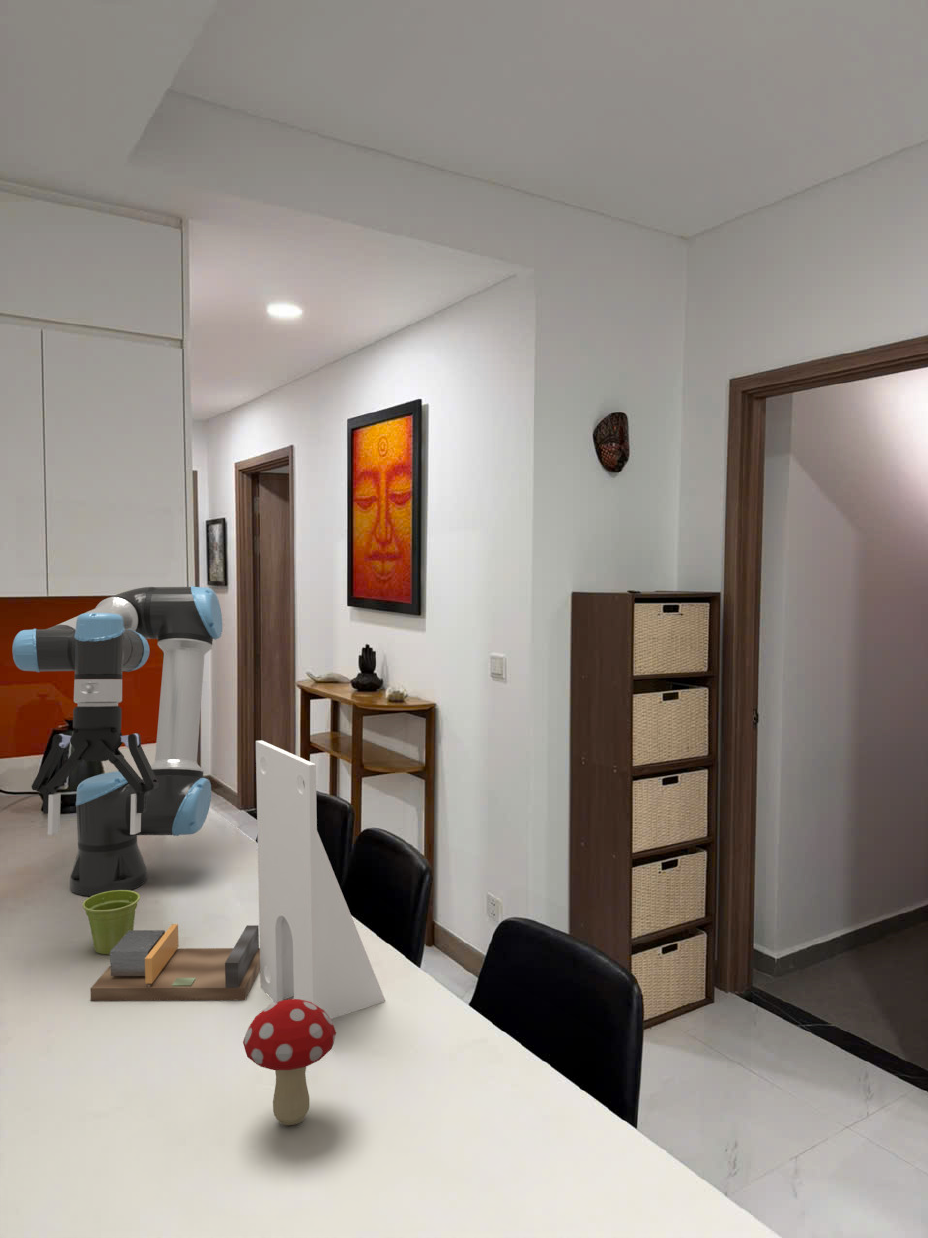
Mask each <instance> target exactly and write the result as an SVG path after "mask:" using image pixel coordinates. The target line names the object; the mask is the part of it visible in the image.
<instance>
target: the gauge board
mask: <svg viewBox="0 0 928 1238" xmlns="http://www.w3.org/2000/svg"><path fill="white" fill-rule="evenodd" d="M258 974H260V933H259V925H258V924H257V925H255V924H253V925H249V924H248V925H246V926H245V928H244V930H243V931H242V933H241V935H240V937H239V938H238V940H237V941H236V943H235V944H234V947H233V948H231V947H229V948H228V947H225V948H224V947H222V948H221V947H220V948H219V947H215V948H214V947H211V948H209V947H208V948H206V947H204V948H199V947H198V948H196V947H195V948H194V947H193V948H192V947H191V948H186V947H185V948H179V947H178V948H177V950H176V951H175V952H174V954H173V955H172V957H171V958H170V959H169V961H168V962H167V963H166V965H165V966H164V968H163V969H162V970H161V972H160V973H159V974H158V976H157V977H156V979H155V980H154V981H153V983H146V982H145V976H111V965H109V966H108V967H107V968H106V970H105V971H104V972H103V973H102V974H101V975H100V977H99V978H98V979H97V980H96V981H95V982H94V984H92V985H91V987H90V1001H91V1002H100V1001H102V1002H103V1001H104V1002H106V1001H107V1002H108V1001H109V1002H116V1001H117V1002H122V1001H125V1002H126V1001H127V1002H128V1001H130V1002H133V1001H134V1002H135V1001H140V1002H141V1001H143V1002H144V1001H153V1002H155V1001H246V999H247V998H248V995H249V993H250V991H251V989H252V987H253V986H254V982H255V981H256V979H257V976H258Z"/></svg>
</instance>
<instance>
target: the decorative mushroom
mask: <svg viewBox="0 0 928 1238" xmlns="http://www.w3.org/2000/svg"><path fill="white" fill-rule="evenodd" d="M336 1035H337V1031H336V1029H335V1025H334V1023H333V1022H332V1019H330V1017H329V1016H328V1015H327V1014H326V1012H325V1011H324V1010H323V1009H321V1008H319V1007H318V1006H316V1005H315V1004H313V1003H311V1002H309V1001H305V1000H300V999H294V998H290V999H289V998H288V999H283V1000H282V1001H279V1002H277V1003H275V1002H274V1003H272V1004H269V1005H268V1006H267V1007H266V1008H264V1009H263V1010H262V1011H260V1012H259V1013H258V1014H257V1015H256V1016H255V1017H254V1018H253V1020H252V1021H251V1023H250V1024H249V1026H248V1028H247V1031H246V1032H245V1035H244V1038H243V1041H242V1044H243V1047H244V1050H245V1054H246V1056H247V1058H248V1059H249V1060H250V1061H252V1062H253V1063H254V1064H256V1065H257V1066H259V1067H261V1068H264V1069H268V1070H272V1071H275V1086H274V1093H273V1099H272V1100H273V1101H272V1111H273V1115H274V1117H275V1119H276V1120H277V1121H278V1122H279V1123H280V1124H281V1125H283V1126H293V1125H297V1124H299V1123H302V1121H303V1120H304V1119H306V1116H307V1114H308V1113H309V1110H310V1093H309V1089H308V1084H307V1077H306V1076H307V1075H306V1071H307V1067H309V1066H310V1065H312V1064H315V1063H317V1062H319V1061H321V1060H322V1059H323V1058H324V1057H325V1056H326V1055H327V1054H328V1053H329V1052H331V1050H332V1049H333V1045H334V1042H335V1039H336Z"/></svg>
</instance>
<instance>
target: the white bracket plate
mask: <svg viewBox="0 0 928 1238" xmlns="http://www.w3.org/2000/svg"><path fill="white" fill-rule="evenodd" d="M255 763H256V764H255V767H256V768H255V769H256V770H255V772H256V780H255V781H256V816H257V817H256V819H257V821H256V823H257V824H256V826H257V866H258V867H257V869H258V871H257V872H258V873H257V874H258V879H257V880H258V918H259V919H258V920H259V921H258V923H259V948H260V971H259V976H260V985H259V986H260V989H262V990H263V992H265V994H266V993H267V994H268V995H269V996H268V995H267V994H266V995H267V996H268V997H269V998H270V999H271V1000H272V1001H273V1002H274V1003H277V1002H279V1001H282V1000H286V999H287V998H288V999H289V998H292V997H293V999H300V1000H305V1001H309V1002H311V1003H313V1004H315V1005H316V1006H318V1007H319V1008H321V1009H323V1010H324V1011H325V1012H326V1014H327V1015H328V1016H329V1017H330V1019H331V1020H332V1019H335V1018H337V1017H341V1016H344V1015H347V1014H350V1013H353V1012H356V1011H359V1010H362V1009H365V1008H369V1007H372V1006H374V1005H378V1004H381V1003H384V1002H386V999H385V997H384V994H383V991H382V988H381V985H380V983H379V981H378V978H377V976H376V974H375V972H374V969H373V966H372V964H371V962H370V959H369V957H368V954H367V951H366V949H365V946H364V944H363V941H362V939H361V936H360V934H359V931H358V929H357V926H356V924H355V921H354V919H353V916H352V914H351V912H350V911H351V910H350V909H349V906H348V904H347V901H346V899H345V897H344V894H343V892H342V889H341V887H340V884H339V882H338V879H337V877H336V875H335V871H334V870H333V867H332V864H331V861H330V860H329V856H328V854H327V851H326V850H325V847H324V844H323V842H322V839H321V837H320V834H319V832H318V826H317V824H318V822H317V821H318V819H317V815H318V814H317V764H316V763H314V762H312V761H309V760H306V759H305V758H303V757H300V756H299V755H296V754H293V753H291V752H289V751H287V750H285V749H282V748H281V747H278V746H275V745H273V744H271V743H268V742H267V741H265V740H262V739H261V740H255Z"/></svg>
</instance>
